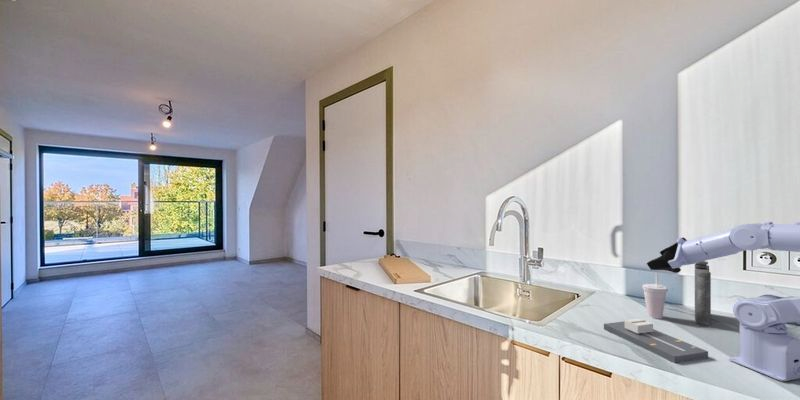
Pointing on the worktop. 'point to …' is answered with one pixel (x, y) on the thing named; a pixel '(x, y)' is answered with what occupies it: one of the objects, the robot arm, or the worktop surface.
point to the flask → (702, 294)
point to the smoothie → (655, 299)
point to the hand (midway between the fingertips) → (655, 260)
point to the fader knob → (638, 326)
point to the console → (659, 343)
